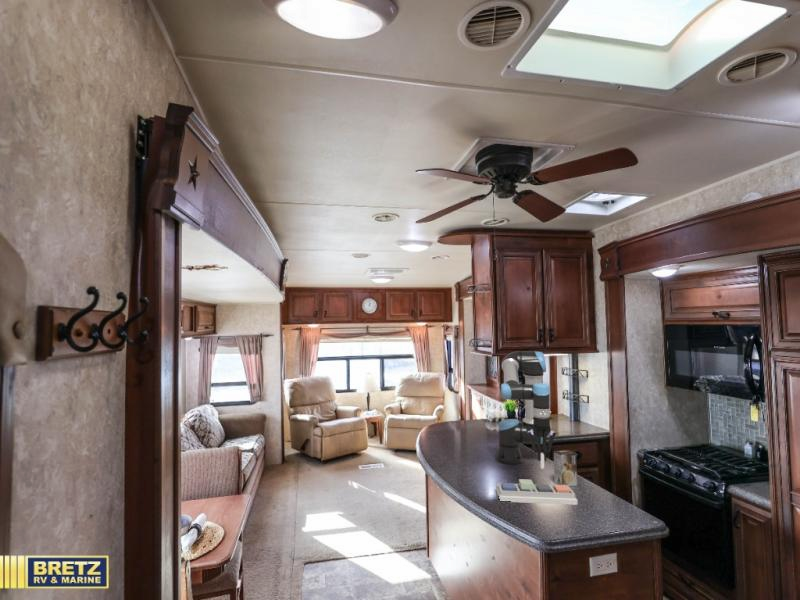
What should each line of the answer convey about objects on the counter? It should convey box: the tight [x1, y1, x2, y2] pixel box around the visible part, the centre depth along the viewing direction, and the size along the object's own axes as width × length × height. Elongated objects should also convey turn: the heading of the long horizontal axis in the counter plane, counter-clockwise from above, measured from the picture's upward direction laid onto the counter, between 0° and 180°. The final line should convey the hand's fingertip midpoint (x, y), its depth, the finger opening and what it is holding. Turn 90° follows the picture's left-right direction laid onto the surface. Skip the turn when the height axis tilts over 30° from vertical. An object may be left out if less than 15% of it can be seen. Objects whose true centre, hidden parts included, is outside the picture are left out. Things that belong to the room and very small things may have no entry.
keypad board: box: [495, 482, 579, 506], centre depth 198 cm, size 13×34×4 cm, turn 85°
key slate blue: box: [501, 482, 516, 491], centre depth 200 cm, size 6×6×2 cm
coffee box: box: [553, 449, 578, 487], centre depth 215 cm, size 9×6×16 cm
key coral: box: [553, 484, 570, 493], centre depth 198 cm, size 6×6×2 cm
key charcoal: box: [535, 483, 552, 492], centre depth 198 cm, size 6×6×2 cm
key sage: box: [518, 478, 535, 490], centre depth 199 cm, size 6×6×2 cm
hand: (541, 467), depth 200 cm, fingers closed
